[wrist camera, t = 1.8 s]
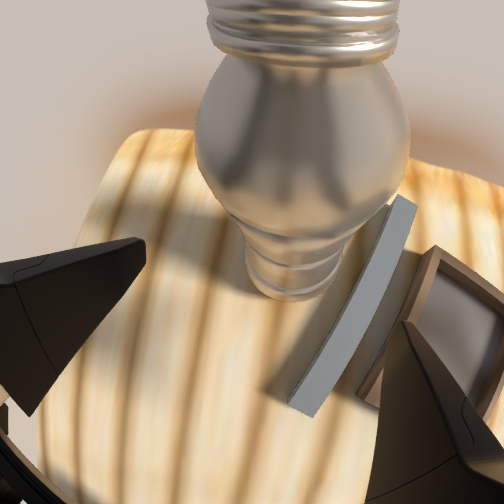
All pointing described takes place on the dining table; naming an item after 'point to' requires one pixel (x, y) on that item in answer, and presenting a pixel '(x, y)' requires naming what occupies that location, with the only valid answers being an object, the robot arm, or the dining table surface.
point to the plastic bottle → (301, 131)
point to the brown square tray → (453, 328)
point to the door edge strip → (355, 310)
